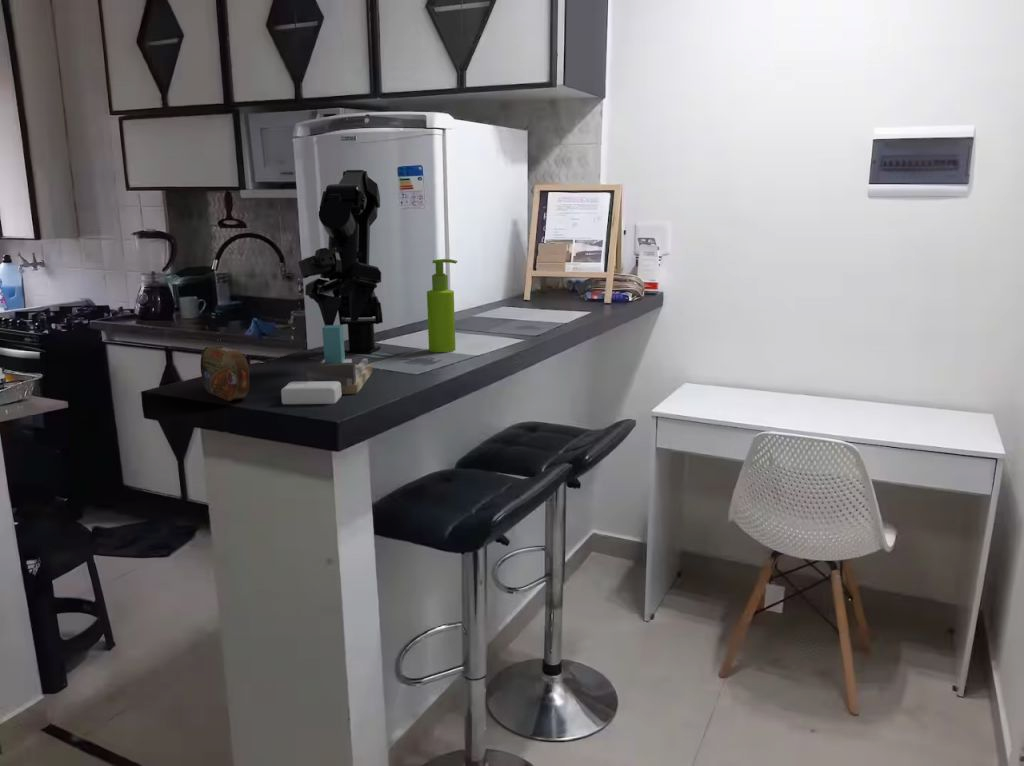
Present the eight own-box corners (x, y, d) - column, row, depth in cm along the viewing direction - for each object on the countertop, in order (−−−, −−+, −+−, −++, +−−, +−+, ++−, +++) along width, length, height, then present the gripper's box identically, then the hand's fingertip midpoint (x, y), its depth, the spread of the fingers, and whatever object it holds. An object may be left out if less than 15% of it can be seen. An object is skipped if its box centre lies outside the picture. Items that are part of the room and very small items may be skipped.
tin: (201, 390, 135) (196, 343, 133) (218, 387, 137) (213, 341, 136) (237, 405, 125) (232, 355, 123) (255, 402, 127) (250, 352, 125)
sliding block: (325, 375, 138) (321, 324, 136) (352, 375, 138) (349, 324, 136) (318, 381, 133) (315, 329, 131) (347, 381, 133) (344, 328, 131)
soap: (342, 397, 130) (341, 380, 130) (335, 405, 125) (334, 388, 124) (290, 397, 130) (289, 380, 130) (280, 406, 125) (279, 388, 124)
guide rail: (325, 372, 148) (324, 347, 146) (372, 372, 148) (370, 346, 147) (304, 394, 131) (302, 366, 130) (357, 393, 131) (355, 365, 130)
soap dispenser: (459, 352, 166) (456, 260, 161) (427, 352, 166) (424, 260, 161) (460, 347, 172) (458, 258, 167) (430, 347, 172) (427, 258, 167)
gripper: (282, 249, 149) (278, 327, 147) (331, 224, 136) (328, 309, 133) (332, 261, 157) (330, 335, 154) (383, 239, 143) (382, 319, 141)
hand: (340, 325), depth 145 cm, fingers open, 9 cm apart
